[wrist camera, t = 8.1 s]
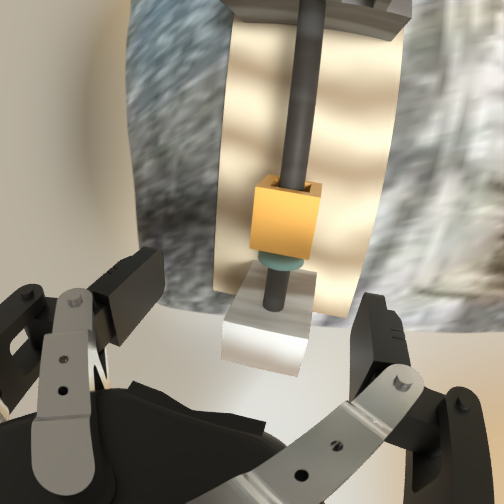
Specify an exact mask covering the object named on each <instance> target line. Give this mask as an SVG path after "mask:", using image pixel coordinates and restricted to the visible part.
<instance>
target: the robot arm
mask: <svg viewBox="0 0 504 504" xmlns="http://www.w3.org/2000/svg"><path fill="white" fill-rule="evenodd" d="M164 287H165V278H164V261H163V253H162V251H161V250H158V249H153V248H148V247H143V248H141V249H140V250H139V251H138V252H136V253H135V254H134V255H133V256H129V257H127V258H124V259H122V260H120V261H119V262H118V263H116V264H115V265H114V266H113V268H110V269H109V270H108V271H107V273H105V274H103V276H101V277H100V278H99V279H98V280H96V281H95V282H94V283H93V284H92V285H91V286H89V287H88V288H87V289H83V288H74V289H70V290H68V291H65V292H64V293H62V294H61V295H60V296H59V298H50V297H45V295H44V292H43V289H42V287H41V286H40V285H38V284H28V285H25V286H22V287H20V288H19V289H17V290H16V291H15V292H14V293H13V294H11V295H10V296H9V297H8V298H7V299H6V300H5V301H3V302H2V303H1V304H0V504H325V503H324V500H325V499H327V498H328V497H329V496H330V495H331V494H333V493H334V492H335V491H336V490H337V489H338V488H339V487H340V486H341V485H342V484H343V483H344V482H345V481H346V480H347V479H348V478H350V476H352V474H354V473H355V472H356V471H357V470H358V468H360V466H362V464H363V463H364V462H365V461H366V460H367V459H368V458H369V457H370V456H371V455H372V454H373V453H374V452H375V451H376V450H377V449H378V447H379V446H380V445H381V444H382V443H383V442H384V441H385V442H387V443H390V444H393V445H395V446H398V447H401V448H404V449H406V467H405V487H404V488H405V489H404V501H403V504H494V489H493V477H492V467H491V459H490V452H489V445H488V440H487V433H486V428H485V423H484V418H483V413H482V408H481V404H480V401H479V399H478V397H477V396H476V395H475V394H474V393H473V392H472V391H471V390H469V389H467V388H464V387H453V388H452V389H450V390H449V391H448V392H447V394H446V395H444V394H441V393H439V392H436V391H433V390H430V389H428V388H426V387H425V386H424V382H423V379H422V377H421V375H420V374H419V373H418V372H417V371H416V370H415V369H413V368H412V367H411V364H410V359H409V354H408V349H407V344H406V340H405V334H404V332H403V326H402V321H401V319H400V318H399V317H398V315H397V314H396V313H395V311H392V310H387V306H386V301H385V297H384V296H383V295H378V294H372V293H367V292H365V293H364V295H363V297H362V300H361V303H360V306H359V309H358V312H357V315H356V317H355V320H354V323H353V326H352V330H351V335H350V393H349V401H345V402H343V403H342V404H341V405H340V406H338V407H337V408H336V409H335V410H334V411H333V412H331V413H330V414H329V415H328V416H326V417H325V418H324V419H323V420H322V421H320V422H319V423H318V424H317V425H315V426H314V427H313V428H311V429H310V430H309V431H308V432H307V433H305V434H304V435H302V436H301V437H300V438H298V439H297V440H296V441H295V442H293V443H292V444H290V445H289V446H286V445H285V444H284V443H282V442H281V441H280V440H278V439H277V438H275V437H274V436H272V435H270V434H268V433H266V432H264V428H265V424H266V422H264V421H259V420H255V419H251V418H247V417H243V416H239V415H235V414H231V413H217V412H203V411H195V410H191V409H189V408H187V407H185V406H184V405H182V404H180V403H179V402H177V401H176V400H174V399H173V398H171V397H169V396H168V395H166V394H165V393H163V392H161V391H158V390H156V389H153V388H150V387H148V386H145V385H143V384H140V383H137V382H135V381H133V382H132V383H131V385H130V386H129V388H128V389H122V388H113V389H112V388H111V385H110V377H109V368H108V358H107V350H106V345H107V344H108V343H112V344H114V345H117V346H119V347H120V346H121V345H122V343H123V342H124V341H125V340H126V339H127V337H128V336H129V335H130V334H131V332H132V331H133V330H134V329H135V327H136V326H137V325H138V324H139V323H140V321H141V320H142V319H143V318H144V317H145V315H146V314H147V313H148V312H149V311H150V309H151V308H152V307H153V306H154V304H155V303H156V302H157V301H158V300H159V299H160V297H161V296H162V294H163V291H164ZM23 328H24V329H25V332H26V334H27V336H28V340H27V341H26V342H25V343H24V344H23V345H22V346H21V347H20V348H19V349H18V351H16V353H15V354H14V355H13V356H12V355H11V353H10V343H11V341H12V340H13V339H14V338H15V337H16V336H17V335H18V333H19V332H21V331H22V330H23ZM38 377H39V386H38V404H37V412H35V413H32V414H28V415H25V416H22V417H18V418H15V419H12V420H9V415H10V413H11V412H12V411H13V409H14V408H15V407H16V405H17V404H18V403H19V401H20V400H21V399H22V398H23V396H24V395H25V394H26V392H27V391H28V389H29V388H30V387H31V386H32V384H33V383H34V382H35V381H36V380H37V378H38Z"/></svg>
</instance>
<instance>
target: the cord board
mask: <svg viewBox="0 0 504 504" xmlns="http://www.w3.org/2000/svg"><path fill="white" fill-rule="evenodd" d="M220 1H221V2H222V3H224V4H225V5H226V6H227V7H228V8H229V9H230V10H231V11H232V12H234V18H233V27H232V35H231V44H230V53H229V63H228V73H227V83H226V93H225V104H224V115H223V127H222V140H221V153H220V166H219V181H218V197H217V214H216V232H215V253H214V277H213V290H215V291H219V292H223V293H228V294H232V295H236V296H235V298H234V300H233V302H232V304H231V306H230V308H229V310H228V312H227V314H226V316H225V318H224V320H223V330H222V350H221V359H222V360H225V361H229V362H234V363H237V364H241V365H245V366H249V367H254V368H258V369H262V370H267V371H271V372H275V373H280V374H285V375H290V376H295V377H297V376H298V373H299V370H300V366H301V363H302V360H303V356H304V353H305V350H306V346H307V343H308V339H309V332H310V325H311V318H312V312H317V313H322V314H328V315H333V316H338V317H344V318H346V317H347V315H348V311H349V308H350V305H351V302H352V299H353V296H354V293H355V290H356V286H357V283H358V280H359V276H360V273H361V270H362V266H363V263H364V259H365V255H366V252H367V248H368V244H369V241H370V237H371V233H372V229H373V225H374V221H375V217H376V213H377V208H378V204H379V200H380V195H381V191H382V186H383V181H384V176H385V171H386V166H387V161H388V156H389V150H390V145H391V139H392V133H393V126H394V120H395V113H396V106H397V98H398V90H399V81H400V72H401V61H402V48H403V33H404V26H405V25H406V24H407V23H408V22H409V21H410V19H411V18H412V0H220ZM268 174H270V175H276V176H280V180H279V187H280V188H286V189H292V190H297V191H303V192H304V186H305V180H306V181H311V182H317V183H322V192H321V200H320V205H319V211H318V216H317V222H316V227H315V233H314V238H313V243H312V248H311V253H310V258H309V260H305V259H300V258H295V257H290V256H285V255H280V254H275V253H270V252H265V251H259V250H254V249H249V245H250V235H251V225H252V215H253V206H254V196H255V187H256V186H257V185H258V184H259V183H260V182H261V181H262V180H263V179H264V178H265V177H266V176H267V175H268Z"/></svg>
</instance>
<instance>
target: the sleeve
mask: <svg viewBox="0 0 504 504" xmlns="http://www.w3.org/2000/svg"><path fill="white" fill-rule="evenodd" d="M279 180H280V176H276V175H270V174H268V175H267V176H266V177H265V178H264V179H263V180H262V181H261V182H260V183H259V184H258V185H257V186H256V187H255V196H254V206H253V215H252V225H251V235H250V245H249V249H254V250H259V251H265V252H270V253H275V254H280V255H285V256H290V257H295V258H300V259H305V260H309V258H310V253H311V248H312V243H313V238H314V233H315V227H316V222H317V216H318V211H319V205H320V200H321V192H322V183H317V182H311V181H306V180H305V186H304V192H303V191H297V190H292V189H286V188H280V187H279Z"/></svg>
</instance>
